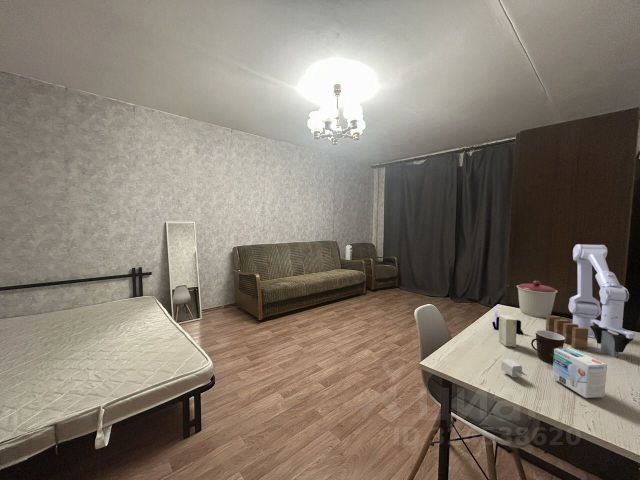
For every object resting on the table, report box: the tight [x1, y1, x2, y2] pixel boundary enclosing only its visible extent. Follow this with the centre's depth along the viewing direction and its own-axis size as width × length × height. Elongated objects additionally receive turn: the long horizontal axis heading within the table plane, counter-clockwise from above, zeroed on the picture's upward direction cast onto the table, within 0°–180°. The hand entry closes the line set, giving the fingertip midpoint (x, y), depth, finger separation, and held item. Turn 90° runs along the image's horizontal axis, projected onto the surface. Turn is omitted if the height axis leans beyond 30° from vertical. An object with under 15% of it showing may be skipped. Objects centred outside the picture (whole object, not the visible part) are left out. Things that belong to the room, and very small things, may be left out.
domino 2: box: [554, 319, 570, 336], centre depth 116 cm, size 2×5×9 cm, turn 86°
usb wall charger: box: [500, 358, 528, 378], centre depth 88 cm, size 4×7×4 cm, turn 8°
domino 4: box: [570, 327, 589, 350], centre depth 107 cm, size 2×5×9 cm, turn 86°
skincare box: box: [498, 314, 518, 347], centre depth 111 cm, size 6×4×12 cm
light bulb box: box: [551, 347, 608, 399], centre depth 81 cm, size 11×7×11 cm, turn 5°
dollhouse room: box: [492, 311, 524, 335], centre depth 128 cm, size 12×12×7 cm
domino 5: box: [600, 330, 619, 358], centre depth 102 cm, size 2×5×9 cm, turn 176°
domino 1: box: [545, 315, 561, 332], centre depth 120 cm, size 2×5×9 cm, turn 86°
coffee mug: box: [530, 329, 565, 364], centre depth 99 cm, size 12×9×10 cm
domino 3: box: [563, 322, 578, 345], centre depth 111 cm, size 2×5×9 cm, turn 86°
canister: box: [516, 280, 558, 319], centre depth 145 cm, size 18×18×21 cm
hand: (609, 347), depth 102 cm, fingers open, 6 cm apart
